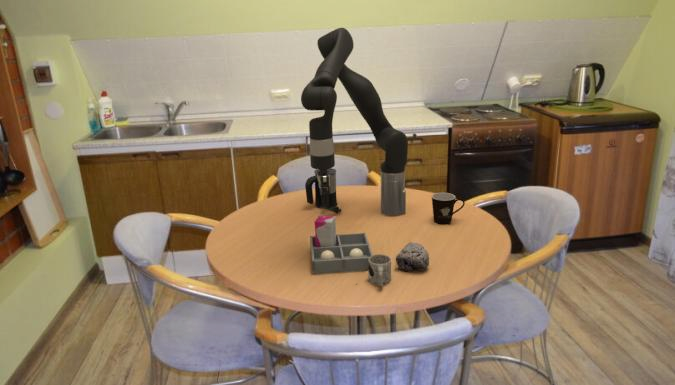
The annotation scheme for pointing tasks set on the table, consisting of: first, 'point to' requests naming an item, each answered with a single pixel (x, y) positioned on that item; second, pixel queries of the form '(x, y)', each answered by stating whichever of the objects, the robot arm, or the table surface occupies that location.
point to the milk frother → (317, 191)
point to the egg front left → (356, 253)
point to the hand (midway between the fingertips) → (324, 200)
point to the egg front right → (327, 255)
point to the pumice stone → (413, 257)
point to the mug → (379, 269)
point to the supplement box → (325, 231)
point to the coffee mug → (444, 207)
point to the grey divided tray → (341, 254)
